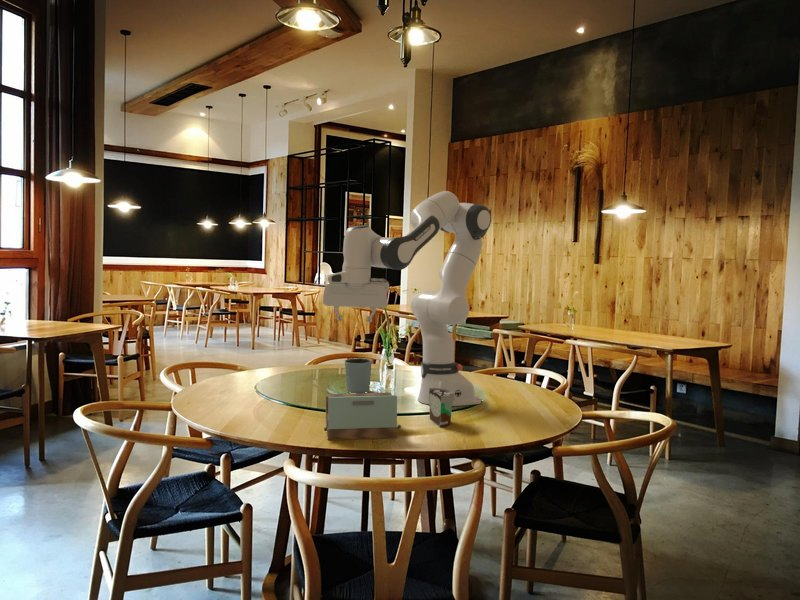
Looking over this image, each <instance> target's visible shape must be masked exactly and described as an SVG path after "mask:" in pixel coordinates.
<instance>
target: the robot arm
mask: <svg viewBox="0 0 800 600" xmlns="http://www.w3.org/2000/svg"><path fill="white" fill-rule="evenodd" d="M491 222H492V215H491V211H490V209H489V208H488V207H487V206H485V205H482V204H480V203H469V202H460V201H459V199H458V196H456V194H455V193H453V192H451V191H448V190H443V191H439V192H436V193H434V194H432V195H431V196H429V197H427V198H425V199H424V200H422V201H421V202H419V203H418V204H416V206H415V207H414V208H413V210H412V211H411V212H410V223H411V226H412V228H413V229H412V230H411V231H409V232H408V233H407V234H406V235H403V236H400V237H399V236H397V237H396V236H395V237H382V236H381V235H379V234H377V233H376V232H375V231H374V230H373V229H372V228H371V227H370V225H367V224H366V225H364V224H362V225H354V226H349V227H348V228H347V229H346V231H345V233H344V237H343V247H342V254H343V264H342V267H341V268H342V270H341V271H338V272H335V273H332V274H329V275H328V276H327V281H328V283H326V285H325V287H324V290H323V295H322V304H323V305H324V306H326V307H329V306H330V307H333V311H334V313H335V314H336V321H339V322H342V321H343V318H342V317H343V315H342V314H340V313H339V311H338V310H340V308H339V307H348V308H368V309H369V308H371V313H370V315H368V316H367V317H366V319H367V320H366V322H367V323H373V317H374V315H375V313H376V311H377V309H386V308H387V307H388V294H387V293H389V290H390V282H389V281H388V280H386V279H385V278H377V277H371V271H372V270H371V269H372V267H373V268H381V269H391V270H396V271H402V270H405V269H406V268H407V267H409V265H410V264H411V262H413V259H414V258H415V256H416V255H417V254H418V253H419V252H420V250H422V248H423V247H425V246H426V245H427V244H428V243H429V242H430V241H431V240H432V239H433V238H434V237H435V236H437V234H438V232H439V231H442V232H444V233H450V234H454V241H453V243H452V245H451V246H450V248H449V249H448V251H447V253H446V256H445V258H444V260H443V262H442V265H441V266H440V269H439V272H438V275H439V278H440V279H441V283H440V284H441V285H440V289H439V290H438V291H433V290H425V291H422V292H418V293H416V294H415V295H414V296H413V297H412V299H411V302H410V309H411V312H412V315H413V316H414V317H415V319H416V321H417V323H418V325H419V329H420V333H421V337H422V338H421V339H422V361H421V365H420V376H421V384H420V389H419V395H418V396H417V401H418V402H419V403H421V404H424V405H425V404H426V405H430V403H429V388H442V389H448V390H451V391H452V392H453V394H454V397H455V400H454V401H453V402H452V407H460V406H461V407H462V406H470V405H471V406H472V405H473V406H474V405H480V404H482V399H481V397H480V396H479V395H477V394H475V393H476V392H475V387H474V384H473V383H472V382H471V380H469V379H468V378H467V377H465V376H464V375H463V374H461V373H460V372H459V371H462V370H463V368H464V366H463V365H462V364H461V363H458V362H456V361H455V340H454V338H453V337H452V335H451V334H450V332H449V329H448V327H447V326H452V325H460V324H462V323H464V322H465V321H466V320H467V319H468V317H469V314H470V305H469V302H468V300H467V289H468V284H469V282H470V279H471V277H472V275H473V272H474V271H475V269H476V268H475V267H476V265H477V264H478V262H479V258H480V256H481V252H482V248H483V237H484V236H485V235H486V233H487V232H488V230H489V228H490V226H491Z"/></svg>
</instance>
